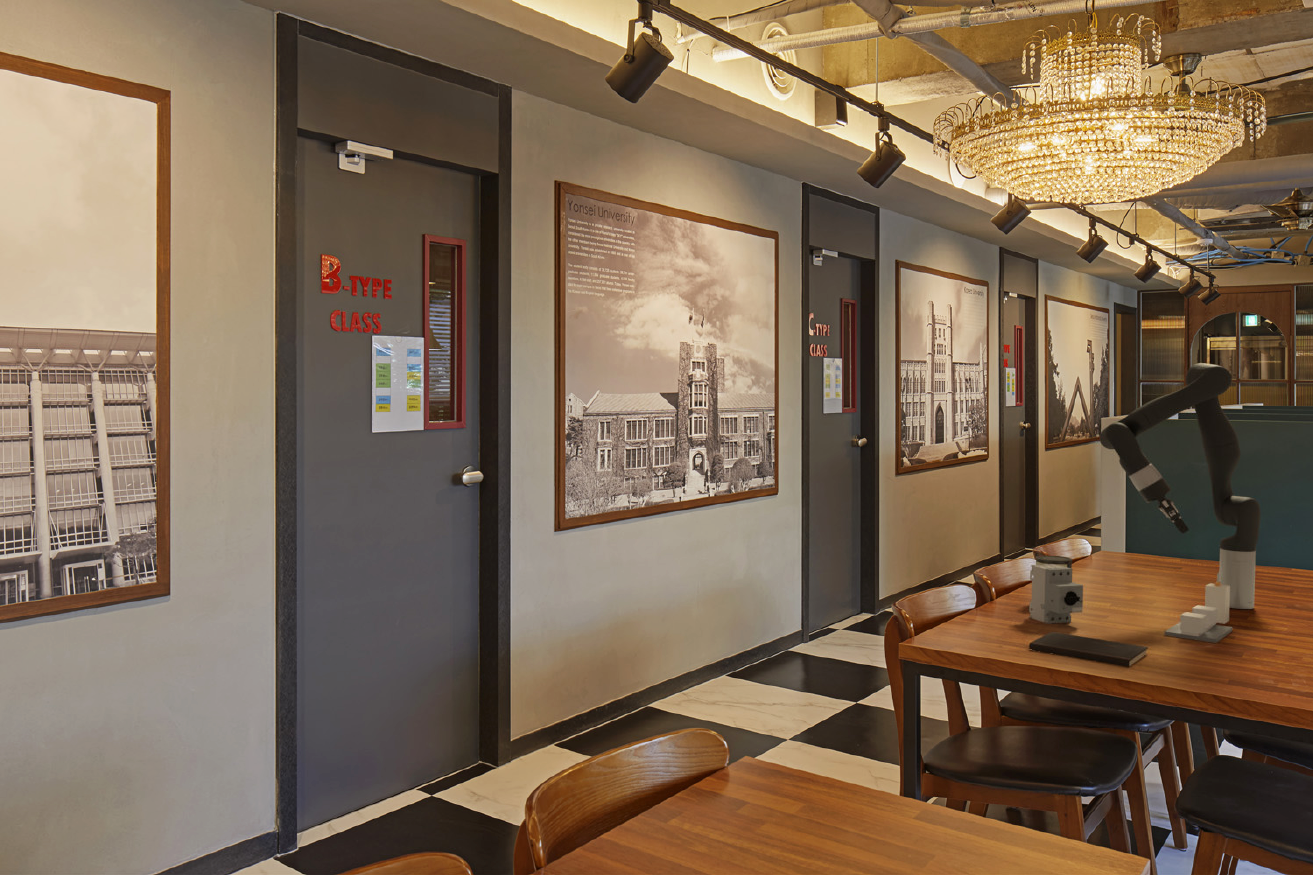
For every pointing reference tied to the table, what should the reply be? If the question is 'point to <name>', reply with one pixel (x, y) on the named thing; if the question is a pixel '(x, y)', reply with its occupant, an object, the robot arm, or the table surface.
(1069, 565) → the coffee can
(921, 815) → the table surface
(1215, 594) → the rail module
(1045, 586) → the circuit breaker
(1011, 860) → the table surface
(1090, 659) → the hardcover book
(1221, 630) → the rail board
